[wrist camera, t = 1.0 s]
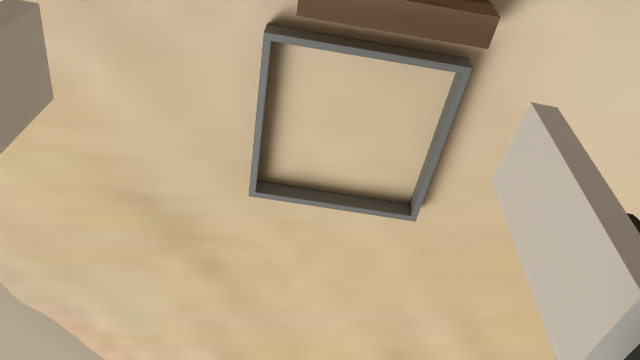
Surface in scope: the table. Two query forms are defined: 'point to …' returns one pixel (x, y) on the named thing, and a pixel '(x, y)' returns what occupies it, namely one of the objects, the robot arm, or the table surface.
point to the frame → (370, 51)
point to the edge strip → (412, 17)
